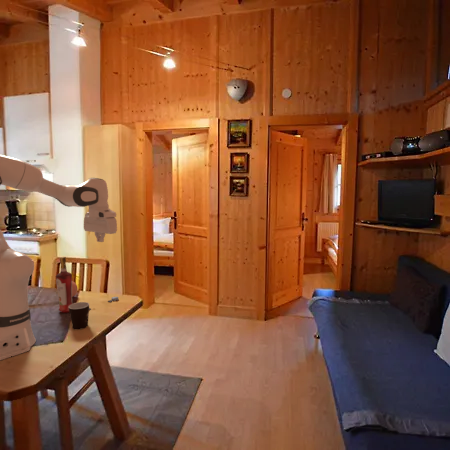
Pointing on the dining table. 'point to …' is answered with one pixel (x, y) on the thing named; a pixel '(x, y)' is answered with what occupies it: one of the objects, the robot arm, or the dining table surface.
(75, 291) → the ball
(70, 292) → the liquor
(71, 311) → the coffee mug
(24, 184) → the robot arm
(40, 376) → the dining table surface
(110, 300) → the grey knobs
